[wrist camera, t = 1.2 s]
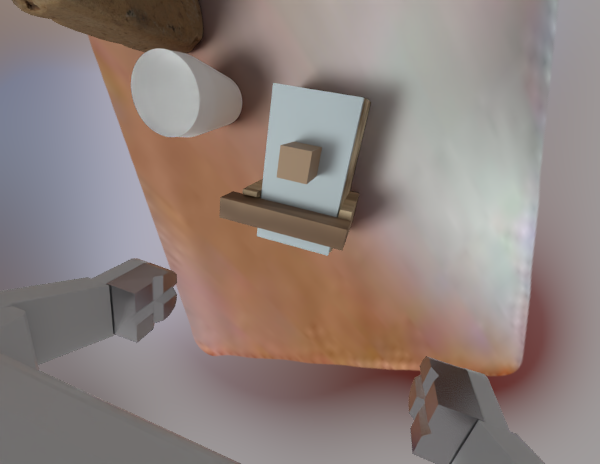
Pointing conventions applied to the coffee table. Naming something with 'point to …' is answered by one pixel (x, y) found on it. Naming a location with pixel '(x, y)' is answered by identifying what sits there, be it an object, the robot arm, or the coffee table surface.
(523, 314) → the coffee table surface
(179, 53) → the cup
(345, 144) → the lid
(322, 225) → the bar
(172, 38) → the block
